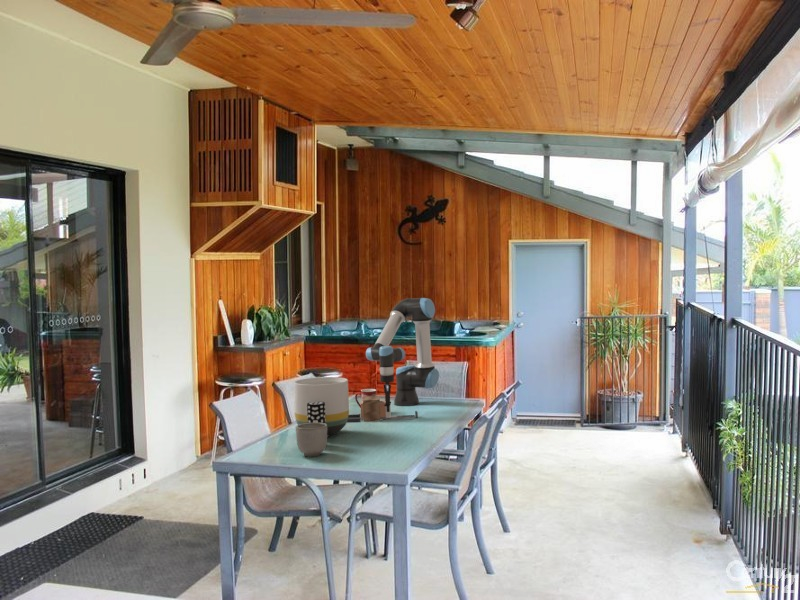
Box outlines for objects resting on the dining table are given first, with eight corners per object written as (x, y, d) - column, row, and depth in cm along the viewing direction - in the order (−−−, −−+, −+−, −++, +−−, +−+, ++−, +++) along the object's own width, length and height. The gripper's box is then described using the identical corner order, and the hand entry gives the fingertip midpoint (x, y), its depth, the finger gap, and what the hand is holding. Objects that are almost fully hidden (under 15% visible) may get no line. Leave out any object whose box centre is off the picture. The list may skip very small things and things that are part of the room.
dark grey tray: (343, 422, 379) (343, 419, 379) (344, 418, 391) (343, 414, 391) (360, 421, 380) (359, 418, 380) (360, 417, 392) (360, 414, 392)
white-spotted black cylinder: (304, 446, 327) (303, 403, 326) (318, 443, 332) (317, 400, 332) (315, 449, 321) (314, 405, 320) (330, 445, 327) (328, 402, 326)
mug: (379, 412, 405) (378, 389, 405) (373, 415, 397) (372, 391, 396) (359, 411, 410) (358, 388, 409) (353, 414, 401) (352, 390, 401)
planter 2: (334, 453, 311) (333, 424, 310) (310, 460, 300) (309, 430, 300) (313, 449, 320) (312, 421, 320) (290, 455, 310) (289, 426, 309)
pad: (382, 420, 382) (382, 419, 382) (381, 417, 391) (381, 416, 391) (413, 419, 383) (413, 418, 383) (412, 415, 392) (412, 415, 392)
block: (361, 418, 383) (360, 403, 383) (361, 416, 389) (360, 401, 388) (390, 416, 384) (389, 402, 384) (390, 415, 389) (389, 400, 389)
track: (361, 420, 383) (360, 414, 383) (361, 418, 388) (360, 413, 388) (417, 418, 385) (417, 412, 385) (417, 416, 390) (416, 411, 390)
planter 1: (360, 432, 354) (358, 378, 353) (325, 443, 332) (324, 386, 331) (319, 427, 369) (318, 375, 368) (284, 437, 347) (282, 382, 346)
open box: (363, 421, 380) (363, 400, 380) (363, 417, 392) (363, 396, 392) (380, 420, 380) (379, 399, 380) (380, 416, 392) (379, 396, 392)
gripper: (379, 372, 395) (381, 413, 396) (380, 377, 376) (381, 420, 377) (393, 372, 395) (394, 413, 396) (394, 376, 377) (395, 419, 377)
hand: (388, 416), depth 386 cm, fingers closed on block, 5 cm apart
